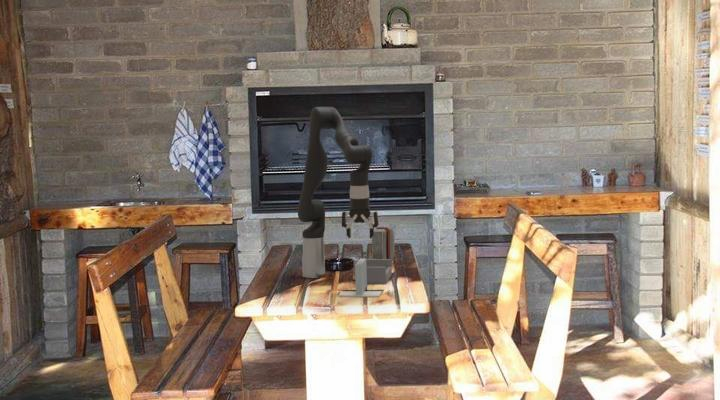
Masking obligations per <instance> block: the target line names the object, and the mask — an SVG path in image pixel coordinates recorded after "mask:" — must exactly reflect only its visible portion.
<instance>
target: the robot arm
mask: <svg viewBox="0 0 720 400" xmlns="http://www.w3.org/2000/svg"><path fill="white" fill-rule="evenodd" d="M322 130H334V131H335V133H334V139H335V142H336V144H337V145H338V147H339V148H340V149H341V150H342V152H343V155H344V159H345V161H346V162H347V163H349V164H351V165H358V164H359V166H358V167H357V168H355V169H352V170H351V171H350V172H349V173H350V174H349V179H350V180H349V184H350V185H349V186H350V187H349V211H346V210H344V211H342V212H341V227H342V228H345V229H346V237H348V239H351V238H352V228H351V227H352V226H353V224H354V223H355V224H357V223H358V224H359V223H361V224H362V223H363V224H364V223H366V225H367V226H368V227H369V239H372V237H373V236H374V229H376V228H377V227H379V214H378V211H377V210H375V211H371V210H370V189H369V172H370V167H371V163H372V160H373V151H372V148H371V147H370V146H369V145H366V144H363V145H359V140H358V139H357V138H356V136H355V135H354V134H352V132H351V131H350V130H349V129H348V127H347V125H346V123H345V121H344V118H342V115H341V114H340V112H339V111H338V110H337V109H336V108H335V107H333V106H315V107H313V108H312V110H311V113H310V119H309V133H308V135H309V136H308V147H307V153H306V159H305V167H304V174H303V182H302V188H301V192H300V197H299V201H298V206H297V216H298V219H299V221H300V222H302V223H310V222H311V224H310V226H308V227H307V228H305V229H304V230H302V254H301V265H302V266H301V268H302V278H307V279H319V278H321V277H322V275H325V274H326V267H325V266H326V264H325V263H326V261H325V260H326V259H325V228H326V208H325V204H324V202H323V200H321V199H313V197H314V194H315V192H316V190H317V189H318V187H319V186H320V185H321V183H322V182H323V181H324V179H325V177H326V174H327V173H328V172H327V171H328V163H329V156H328V154H327V152H326V150H325V148H324V146H323V144H322V141H321V131H322ZM348 216H349V217H350V221H349V222H348V224H347V217H348ZM370 216H371V217H372V218H373V221H374V223H373V222H372V220H371V219H370Z"/></svg>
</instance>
